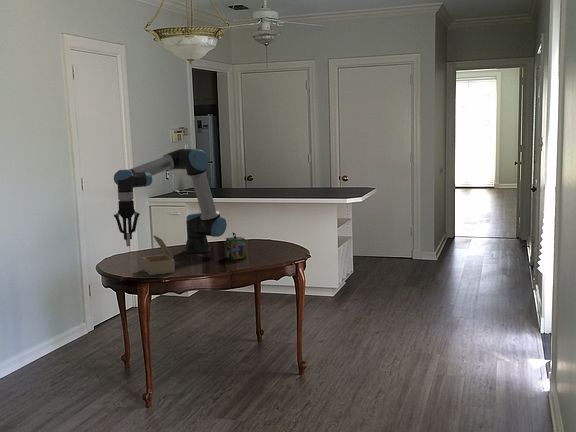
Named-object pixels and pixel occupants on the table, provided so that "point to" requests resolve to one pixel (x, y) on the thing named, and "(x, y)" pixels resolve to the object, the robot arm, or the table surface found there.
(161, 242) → the lid
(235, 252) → the colorful juice box
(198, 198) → the robot arm
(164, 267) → the box
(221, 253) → the table surface
